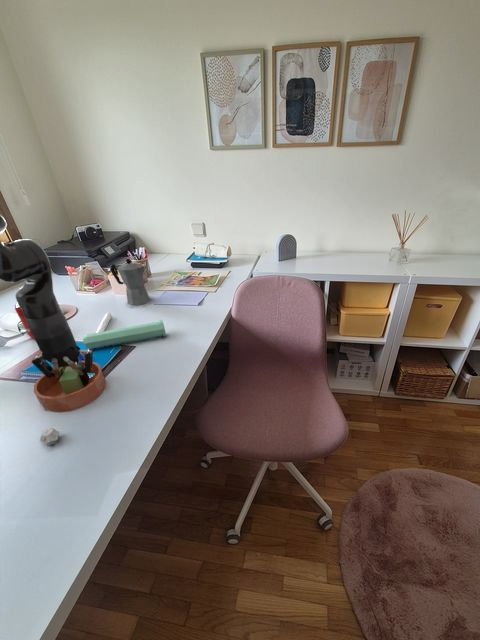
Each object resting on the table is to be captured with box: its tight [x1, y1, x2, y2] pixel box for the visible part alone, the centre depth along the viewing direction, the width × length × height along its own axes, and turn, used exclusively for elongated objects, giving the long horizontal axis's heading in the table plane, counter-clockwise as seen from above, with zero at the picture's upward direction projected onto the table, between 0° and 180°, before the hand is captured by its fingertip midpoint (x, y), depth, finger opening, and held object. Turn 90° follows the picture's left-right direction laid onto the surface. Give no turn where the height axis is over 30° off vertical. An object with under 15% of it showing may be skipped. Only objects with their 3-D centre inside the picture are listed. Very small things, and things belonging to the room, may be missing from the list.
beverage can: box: [14, 303, 35, 340], centre depth 101 cm, size 5×5×12 cm
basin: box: [33, 360, 107, 413], centre depth 79 cm, size 15×15×4 cm
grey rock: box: [39, 427, 60, 446], centre depth 65 cm, size 4×4×3 cm
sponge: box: [59, 367, 84, 394], centre depth 79 cm, size 4×6×4 cm, turn 13°
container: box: [82, 319, 167, 350], centre depth 99 cm, size 6×6×25 cm
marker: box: [95, 312, 112, 333], centre depth 109 cm, size 18×2×2 cm, turn 11°
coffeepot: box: [109, 258, 150, 306], centre depth 123 cm, size 15×9×18 cm, turn 82°
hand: (76, 385), depth 81 cm, fingers closed on sponge, 4 cm apart
